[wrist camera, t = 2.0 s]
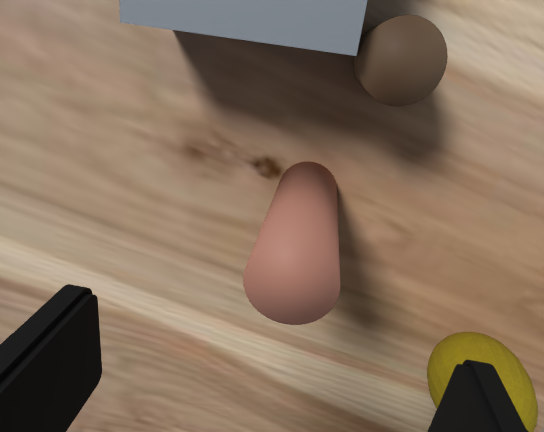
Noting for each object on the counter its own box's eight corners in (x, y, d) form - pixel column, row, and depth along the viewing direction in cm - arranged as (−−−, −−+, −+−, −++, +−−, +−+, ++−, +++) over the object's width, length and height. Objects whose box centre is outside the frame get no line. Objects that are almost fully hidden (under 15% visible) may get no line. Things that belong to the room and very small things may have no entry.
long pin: (342, 167, 24) (349, 250, 14) (331, 221, 25) (330, 332, 15) (283, 157, 24) (248, 232, 14) (275, 211, 26) (238, 314, 16)
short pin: (430, 27, 21) (458, 21, 16) (412, 99, 22) (433, 112, 18) (361, 18, 21) (369, 9, 16) (347, 89, 22) (351, 99, 18)
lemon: (402, 326, 28) (428, 425, 20) (483, 295, 26) (542, 391, 19) (436, 382, 29) (472, 494, 22) (515, 356, 27) (581, 468, 20)
